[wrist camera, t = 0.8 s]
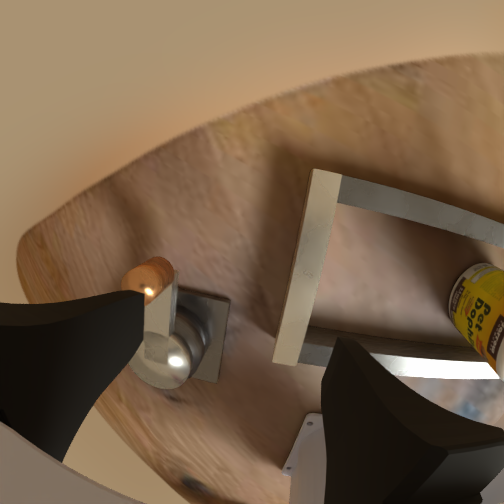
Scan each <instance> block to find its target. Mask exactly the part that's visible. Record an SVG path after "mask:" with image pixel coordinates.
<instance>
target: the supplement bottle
mask: <svg viewBox="0 0 504 504" xmlns="http://www.w3.org/2000/svg"><path fill="white" fill-rule="evenodd" d="M449 315H450V319H451V321H452V323H453V325H454V326H455V327H456V328H457V330H458V331H459V332H460V333H461V334H462V335H463V336H464V337H465V338H466V339H467V340H468V342H469V343H470V344H471V345H472V346H473V347H474V348H475V349H476V350H477V352H478V353H479V354H480V355H481V356H482V357H483V358H484V360H485V361H486V362H487V363H488V364H489V365H490V367H491V368H492V369H493V370H494V371H495V373H496V374H497V375H498V376H499V377H500V378H501V379H502V380H503V381H504V271H503V270H501V269H499V268H497V267H495V266H494V265H491V264H488V263H480V264H476V265H474V266H472V267H470V268H468V269H467V270H466V271H465V272H464V273H463V274H462V275H461V276H460V277H459V279H458V280H457V282H456V283H455V285H454V287H453V289H452V292H451V295H450V300H449Z"/></svg>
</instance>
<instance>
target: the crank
mask: <svg viewBox="0 0 504 504" xmlns="http://www.w3.org/2000/svg"><path fill="white" fill-rule="evenodd" d="M178 280H179V271H178V270H174V269H173V267H172V265H171V264H170V262H169V261H168V260H166V259H165V258H162V257H153V258H151V259H149V260H148V261H146V262H144V263H142V264H141V265H139V266H137V267H135V268H134V269H132V270H130V271H128V272H127V273H126V274H125V275H124V276H123V278H122V281H121V288H122V290H134V291H137V292H141V293H144V294H145V302H144V306H145V320H144V340H143V341H142V343H141V345H140V346H139V348H138V350H137V351H136V353H135V354H134V356H133V358H132V359H131V360H130V361H129V362H128V363H129V365H130V367H131V369H132V370H133V371H134V373H135V374H136V375H137V376H138V377H139V378H140V379H142V380H143V381H144V382H146V383H148V384H149V385H151V386H154V387H157V388H161V389H174V388H177V387H179V386H181V385H182V384H183V383H184V382H185V381H186V379H187V377H188V376H189V374H190V372H191V370H192V367H193V354H192V351H191V349H190V347H189V345H188V344H187V342H186V341H185V340H184V339H183V338H182V337H181V336H180V335H179V334H178V333H177V332H175V331H174V330H175V316H176V303H177V291H178Z"/></svg>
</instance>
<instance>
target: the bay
mask: <svg viewBox="0 0 504 504" xmlns="http://www.w3.org/2000/svg"><path fill="white" fill-rule="evenodd" d="M337 203H342V204H346V205H351V206H355V207H359V208H363V209H368V210H372V211H376V212H380V213H384V214H388V215H392V216H396V217H400V218H404V219H408V220H411V221H415V222H419V223H422V224H426V225H430V226H433V227H437V228H440V229H444V230H447V231H451V232H454V233H457V234H461V235H464V236H467V237H470V238H474V239H477V240H480V241H483V242H486V243H489V244H492V245H495V246H498V247H501V248H504V224H502V223H499V222H496V221H494V220H491V219H488V218H486V217H483V216H480V215H478V214H475V213H472V212H469V211H466V210H463V209H460V208H458V207H455V206H452V205H449V204H445V203H442V202H439V201H436V200H433V199H430V198H426V197H423V196H420V195H416V194H413V193H410V192H406V191H403V190H399V189H395V188H392V187H388V186H384V185H381V184H377V183H373V182H369V181H365V180H361V179H357V178H352V177H348V176H344V175H342V174H338V173H333V172H329V171H324V170H319V169H315V168H314V169H312V170H311V171H310V176H309V181H308V186H307V192H306V197H305V202H304V208H303V213H302V218H301V223H300V228H299V233H298V238H297V243H296V248H295V253H294V257H293V262H292V267H291V271H290V276H289V281H288V285H287V290H286V294H285V299H284V303H283V307H282V312H281V316H280V320H279V325H278V329H277V333H276V337H275V344H274V351H273V359H272V362H274V363H279V364H284V365H290V366H296V364H297V362H298V363H304V364H310V365H316V366H323V367H327V365H328V362H329V359H330V357H331V354H332V351H333V348H334V345H335V342H336V339H337V336H338V337H344V338H350V339H354V340H355V341H357V342H358V343H359V344H360V345H361V346H362V347H364V348H365V349H366V350H367V351H368V352H369V353H370V354H371V355H372V356H373V357H374V358H375V359H376V360H377V361H378V362H379V363H380V364H381V365H382V366H384V367H385V368H386V369H387V370H388V371H389V372H390V373H391V374H393V375H400V376H414V377H431V378H458V379H495V378H500V377H499V376H498V375H497V374H496V373H495V371H494V370H493V369H492V368H491V367H490V365H489V364H488V363H487V362H486V361H485V360H484V358H483V357H482V356H481V355H480V354H479V353H478V352H477V350H476V349H475V348H472V347H461V346H450V345H440V344H430V343H422V342H413V341H405V340H397V339H390V338H382V337H375V336H368V335H362V334H355V333H349V332H343V331H336V330H330V329H325V328H319V327H313V326H308V323H309V319H310V315H311V312H312V308H313V304H314V300H315V296H316V292H317V289H318V285H319V281H320V276H321V272H322V268H323V264H324V260H325V255H326V251H327V247H328V242H329V238H330V233H331V228H332V224H333V219H334V214H335V209H336V204H337Z"/></svg>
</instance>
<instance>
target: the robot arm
mask: <svg viewBox="0 0 504 504" xmlns="http://www.w3.org/2000/svg"><path fill="white" fill-rule="evenodd" d="M144 302H145V294H144V293H141V292H137V291H134V290H122V291H116V292H111V293H107V294H102V295H97V296H93V297H88V298H82V299H77V300H71V301H65V302H58V303H46V304H10V303H0V504H145V503H143V502H140V501H138V500H135V499H133V498H130V497H128V496H125V495H123V494H121V493H118V492H116V491H114V490H112V489H110V488H107V487H105V486H103V485H101V484H99V483H97V482H95V481H93V480H91V479H89V478H88V477H86V476H84V475H82V474H80V473H78V472H76V471H75V470H73V469H71V468H69V467H67V466H66V465H64V464H62V461H63V459H64V457H65V455H66V452H67V450H68V448H69V446H70V444H71V442H72V440H73V438H74V436H75V435H76V433H77V431H78V429H79V427H80V426H81V424H82V422H83V420H84V419H85V417H86V416H87V414H88V412H89V411H90V409H91V408H92V406H93V405H94V403H95V402H96V400H97V399H98V398H99V396H100V395H101V394H102V392H103V391H104V390H105V389H106V388H107V387H108V385H109V384H110V383H111V382H112V381H113V380H114V379H115V377H116V376H117V375H118V374H119V373H120V372H121V371H122V369H123V368H124V367H125V366H126V365H127V364H128V362H129V361H130V360H131V359H132V358H133V356H134V354H135V353H136V351H137V350H138V348H139V346H140V345H141V343H142V341H143V340H144ZM321 409H322V414H317V413H309V414H307V415H306V417H305V419H304V422H303V424H302V427H301V429H300V431H299V434H298V436H297V438H296V441H295V443H294V445H293V447H292V450H291V452H290V454H289V456H288V458H287V460H286V463H285V465H284V467H283V469H282V474H283V475H285V476H291V485H290V499H289V504H481V503H482V500H483V499H482V497H481V495H480V492H481V491H482V490H483V489H484V488H485V487H486V486H487V485H488V484H489V483H490V482H491V481H492V480H493V479H494V478H495V477H496V476H497V475H498V473H500V471H501V470H502V469H503V468H504V430H503V429H502V428H499V427H494V426H491V425H487V424H483V423H480V422H476V421H473V420H470V419H467V418H465V417H462V416H460V415H457V414H455V413H453V412H450V411H448V410H446V409H444V408H442V407H440V406H438V405H436V404H434V403H433V402H431V401H429V400H427V399H426V398H424V397H422V396H421V395H419V394H418V393H416V392H415V391H413V390H412V389H410V388H409V387H408V386H406V385H405V384H404V383H402V382H401V381H400V380H399V379H398V378H396V377H395V376H394V375H393V374H391V373H390V372H389V371H388V370H387V369H386V368H385V367H384V366H382V365H381V364H380V363H379V362H378V361H377V360H376V359H375V358H374V357H373V356H372V355H371V354H370V353H369V352H368V351H367V350H366V349H365V348H364V347H362V346H361V345H360V344H359V343H358V342H357V341H355V340H354V339H350V338H344V337H338V336H337V339H336V342H335V345H334V348H333V351H332V354H331V357H330V359H329V362H328V365H327V368H326V371H325V373H324V376H323V379H322V383H321ZM308 422H311V423H308ZM499 504H504V502H502V503H499Z"/></svg>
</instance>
